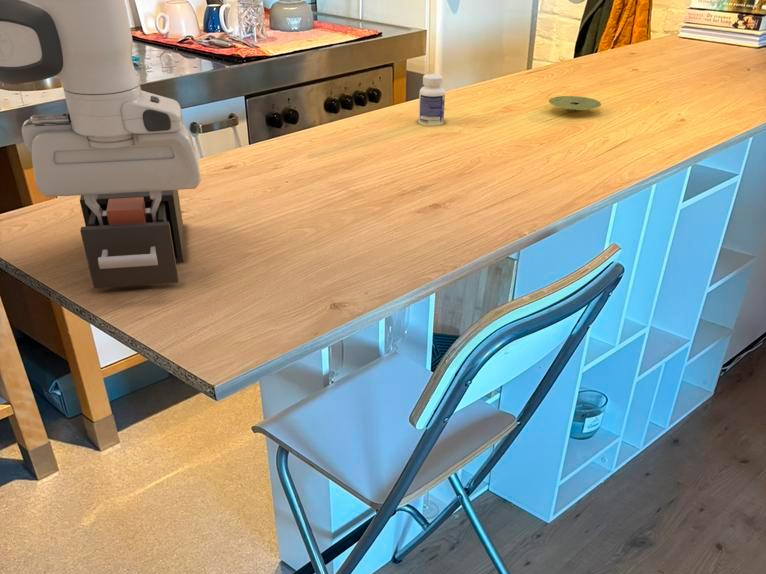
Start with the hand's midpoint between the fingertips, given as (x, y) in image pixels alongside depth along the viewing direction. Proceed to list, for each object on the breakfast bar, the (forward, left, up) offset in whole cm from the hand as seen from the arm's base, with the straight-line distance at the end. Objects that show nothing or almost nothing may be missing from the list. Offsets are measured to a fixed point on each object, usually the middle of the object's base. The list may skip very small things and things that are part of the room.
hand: (129, 225), depth 107 cm
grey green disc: (+90, +70, -7) cm, 114 cm away
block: (0, 0, -2) cm, 2 cm away
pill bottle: (+57, +66, -7) cm, 88 cm away
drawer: (0, -1, -6) cm, 6 cm away
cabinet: (0, +10, -7) cm, 12 cm away
